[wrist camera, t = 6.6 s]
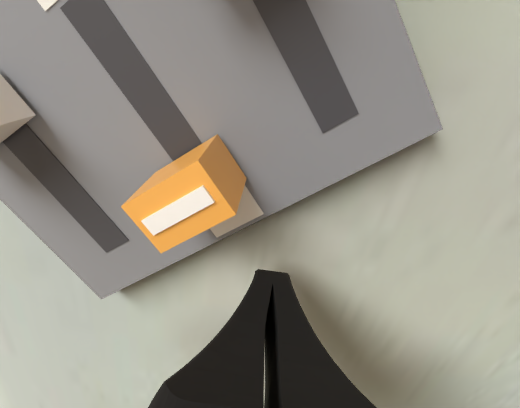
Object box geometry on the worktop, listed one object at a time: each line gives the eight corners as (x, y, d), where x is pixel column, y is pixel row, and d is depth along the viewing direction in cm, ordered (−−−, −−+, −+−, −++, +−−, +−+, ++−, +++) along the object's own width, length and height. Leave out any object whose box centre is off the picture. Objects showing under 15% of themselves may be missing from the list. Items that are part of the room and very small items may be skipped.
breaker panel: (429, 121, 13) (496, 158, 9) (112, 283, 17) (61, 354, 13) (273, -282, 8) (262, -578, 4) (-86, 79, 13) (-246, 94, 9)
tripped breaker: (246, 178, 13) (235, 216, 10) (185, 211, 13) (159, 255, 11) (217, 134, 12) (197, 161, 9) (155, 172, 13) (119, 207, 10)
